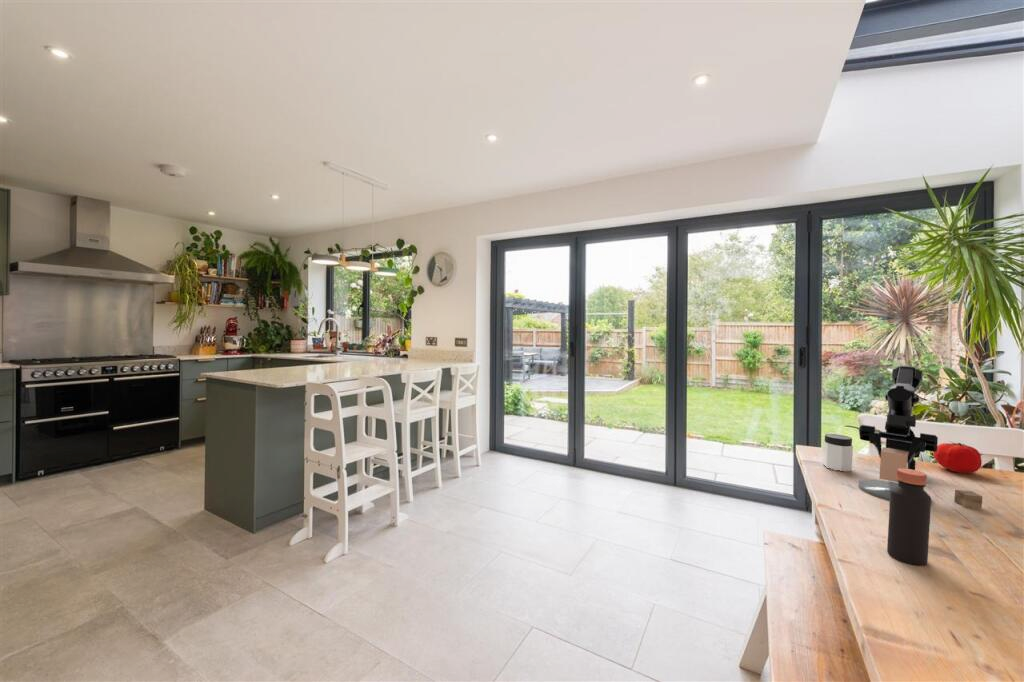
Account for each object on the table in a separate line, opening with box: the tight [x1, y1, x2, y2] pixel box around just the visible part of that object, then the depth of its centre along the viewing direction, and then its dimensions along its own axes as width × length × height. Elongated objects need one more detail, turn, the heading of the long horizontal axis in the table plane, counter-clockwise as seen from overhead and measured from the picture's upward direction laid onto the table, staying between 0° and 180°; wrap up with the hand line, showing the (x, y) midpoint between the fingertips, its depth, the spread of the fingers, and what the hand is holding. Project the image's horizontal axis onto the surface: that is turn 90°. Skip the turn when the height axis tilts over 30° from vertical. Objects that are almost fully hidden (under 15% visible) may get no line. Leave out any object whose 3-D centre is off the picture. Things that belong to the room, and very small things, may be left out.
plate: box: [857, 478, 898, 501], centre depth 135 cm, size 17×17×1 cm
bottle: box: [886, 468, 932, 566], centre depth 96 cm, size 7×7×20 cm
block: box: [953, 489, 983, 510], centre depth 126 cm, size 4×4×4 cm
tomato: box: [932, 441, 983, 474], centre depth 157 cm, size 13×12×11 cm
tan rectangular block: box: [878, 446, 909, 483], centre depth 134 cm, size 6×6×9 cm
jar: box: [821, 433, 854, 472], centre depth 158 cm, size 9×8×12 cm
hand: (894, 459), depth 133 cm, fingers closed on tan rectangular block, 6 cm apart
